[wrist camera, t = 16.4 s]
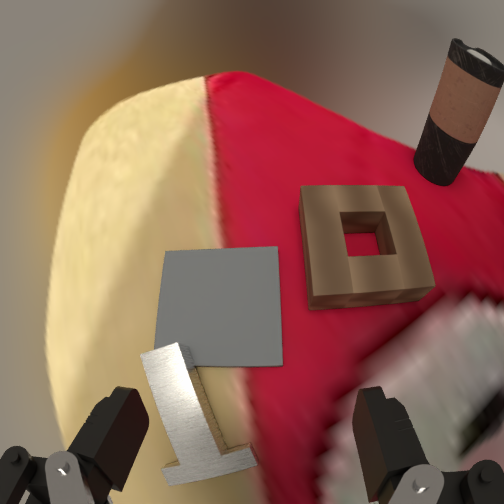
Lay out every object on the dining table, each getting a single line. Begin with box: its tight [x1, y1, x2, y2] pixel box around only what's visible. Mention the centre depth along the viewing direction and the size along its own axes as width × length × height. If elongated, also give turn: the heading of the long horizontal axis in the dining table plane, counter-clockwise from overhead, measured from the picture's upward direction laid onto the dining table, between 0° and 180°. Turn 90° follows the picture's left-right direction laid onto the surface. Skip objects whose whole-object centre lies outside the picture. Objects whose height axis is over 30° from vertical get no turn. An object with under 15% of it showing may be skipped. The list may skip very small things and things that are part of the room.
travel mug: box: [414, 38, 504, 186], centre depth 27 cm, size 8×8×20 cm
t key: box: [140, 342, 258, 486], centre depth 21 cm, size 8×4×12 cm
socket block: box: [299, 185, 436, 310], centre depth 28 cm, size 12×12×4 cm
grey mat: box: [154, 246, 283, 367], centre depth 28 cm, size 12×12×1 cm
